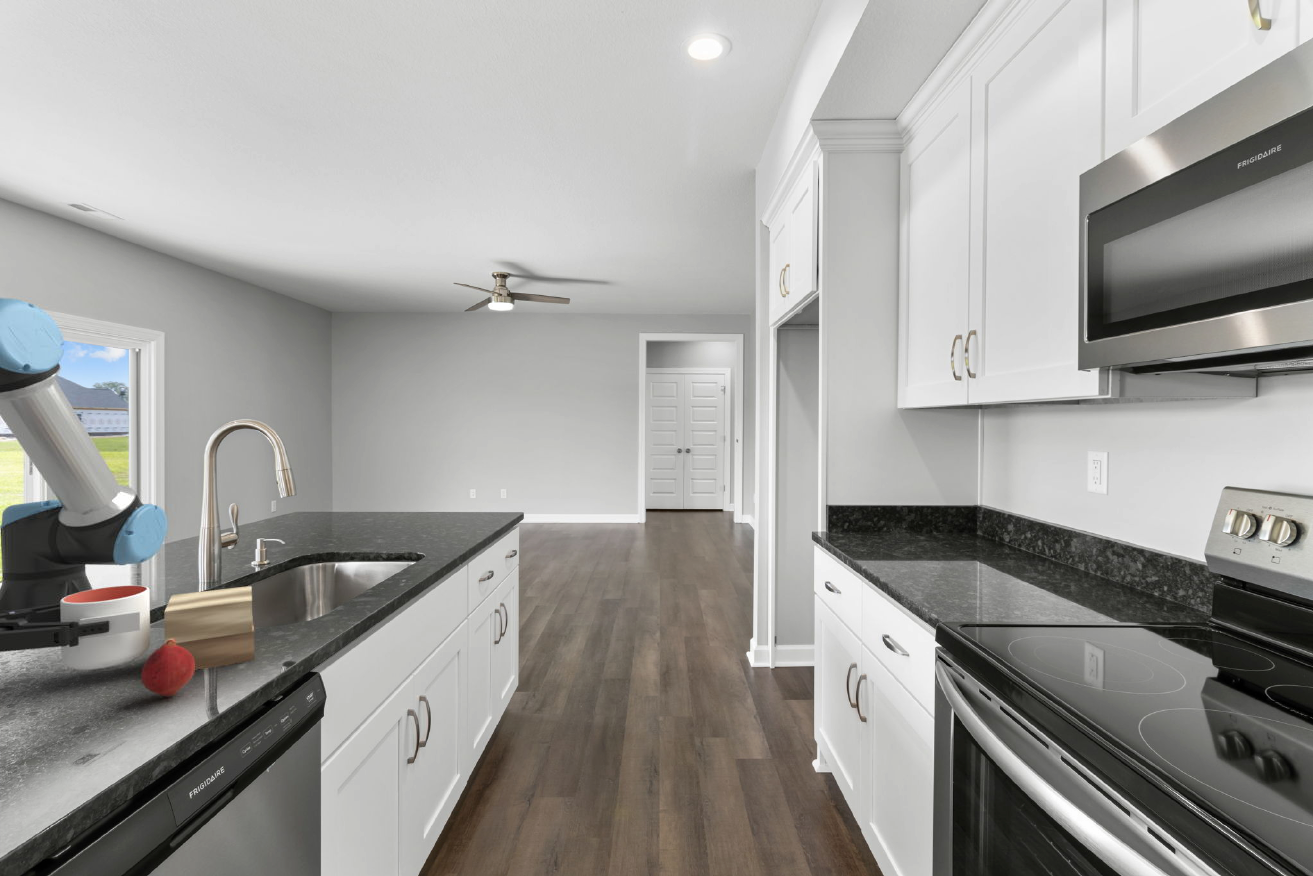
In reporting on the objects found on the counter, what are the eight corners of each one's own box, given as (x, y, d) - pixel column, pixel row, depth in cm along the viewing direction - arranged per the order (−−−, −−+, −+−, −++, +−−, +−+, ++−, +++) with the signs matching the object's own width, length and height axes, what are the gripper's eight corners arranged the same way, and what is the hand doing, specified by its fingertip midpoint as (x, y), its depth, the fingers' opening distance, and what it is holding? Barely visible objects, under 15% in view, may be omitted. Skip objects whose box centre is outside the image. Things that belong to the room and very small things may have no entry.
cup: (98, 675, 88) (96, 605, 87) (42, 669, 90) (41, 601, 89) (167, 650, 97) (166, 587, 97) (115, 645, 99) (114, 583, 99)
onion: (152, 709, 82) (151, 649, 82) (134, 699, 85) (134, 641, 85) (202, 693, 87) (202, 637, 87) (184, 684, 90) (184, 629, 90)
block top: (172, 625, 102) (171, 595, 102) (251, 614, 108) (251, 585, 108) (164, 644, 93) (164, 611, 93) (252, 631, 99) (251, 600, 99)
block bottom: (172, 655, 102) (172, 625, 102) (252, 642, 109) (252, 614, 109) (167, 677, 93) (167, 644, 93) (254, 662, 100) (254, 631, 100)
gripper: (-43, 643, 92) (150, 616, 105) (-108, 699, 74) (136, 658, 87) (-44, 593, 92) (149, 572, 105) (-109, 636, 74) (135, 605, 86)
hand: (143, 611), depth 96 cm, fingers closed on cup, 10 cm apart
